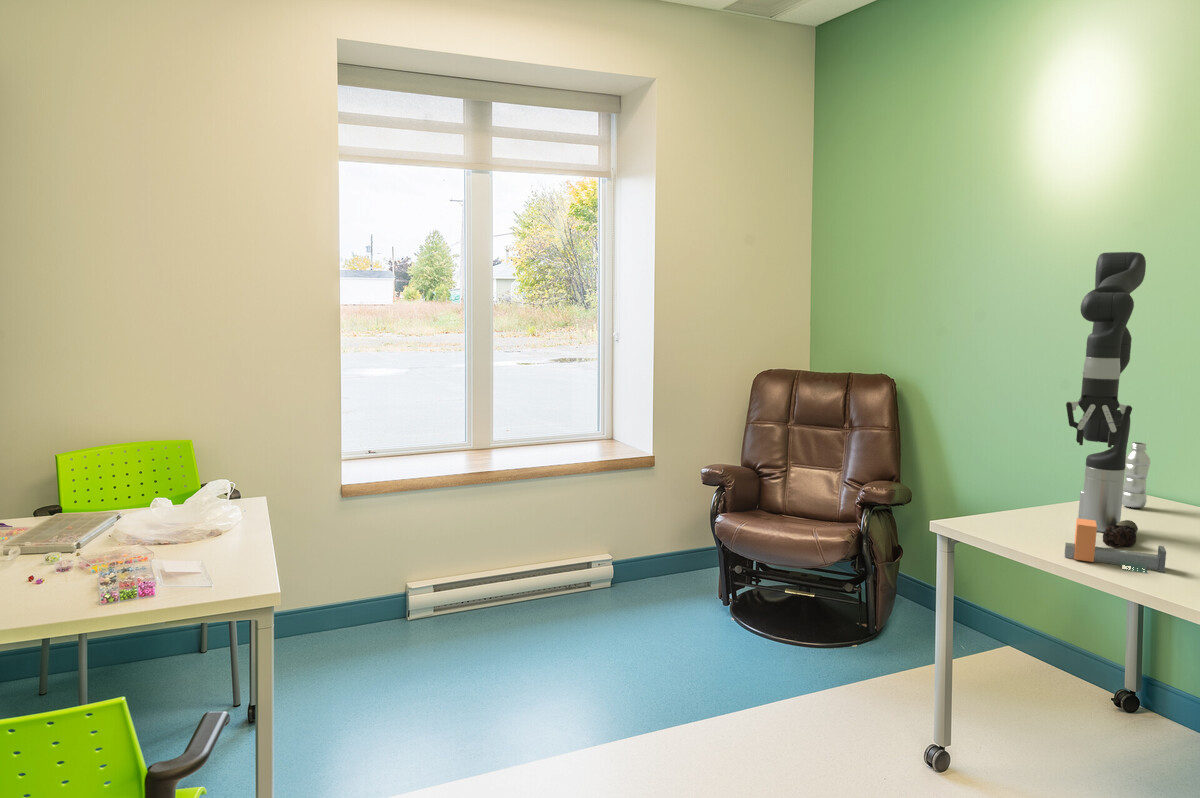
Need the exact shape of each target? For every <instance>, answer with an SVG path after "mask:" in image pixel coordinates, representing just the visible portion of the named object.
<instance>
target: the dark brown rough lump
mask: <svg viewBox="0 0 1200 798" xmlns="http://www.w3.org/2000/svg"><path fill="white" fill-rule="evenodd" d="M1138 529H1139V528H1138V525H1137V523H1135V522H1134V521H1133V520H1130V519H1125V520H1120V522H1119V523H1118V524H1116V525H1113V526H1111V527H1107V528H1106V531H1104V532H1103V533H1102V534H1103V535H1102V542H1103V543H1104V544H1106V546H1111V547H1127V548H1131V547H1133V546H1135V545H1136V542H1137V532H1138Z"/></svg>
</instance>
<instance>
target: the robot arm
mask: <svg viewBox="0 0 1200 798" xmlns="http://www.w3.org/2000/svg"><path fill="white" fill-rule="evenodd" d="M1146 267H1147V262H1146V257H1145V255H1144V254H1142V253H1141V252H1135V251H1117V252H1115V251H1114V252H1110V251H1109V252H1102V253H1100V254H1099V255H1098V257H1097V260H1096V264H1095V273H1094V275H1095V279H1094V281H1095V282H1094V289H1092V290H1091V291H1089V292H1087V294H1086V295H1085V296H1084V297H1083V299H1082V300H1081V304H1080V314H1081V316H1082V317H1083V318H1084V320H1086V321H1088V322H1091V323H1092V325H1093V326H1092V331H1091V333H1089V335H1087V339H1086V348H1085V359H1084V362H1083V363H1084V364H1083V369H1082V383H1081V392H1080V394H1081V395H1080V398H1079V400H1078V401H1066V404H1065V407H1066V413H1067V420H1068V425H1069V427H1071V428H1075V429H1076V438H1075V440H1076V442H1077V444H1079V446H1083V445H1084V440H1085V441H1087V442H1094V443H1095V442H1096V443H1104V444H1105V443H1107V448H1108V449H1107V450H1104V451H1100V452H1096V453H1091V454H1088V455H1087V456H1086V458H1085V467H1084V468H1085V469H1084V481H1083V490H1081V491H1080V492H1079V493H1080V494H1079V506H1078V517H1077V518H1078V519H1087V520H1095V521H1096V525H1097V532H1099V533H1101V532H1102V533H1104V531H1106V528H1107V527H1111V526H1113V525H1116V524H1118V523H1119V522H1121V517H1122V508H1123V505H1122V498H1123V488H1124V483H1125V463H1126V456H1127V448H1128V443H1129V435H1130V430H1131V429H1130V428H1131V414H1132V412H1133V411H1132V410H1133V407H1132V406H1131V405H1130V404H1127V405H1126V404H1122V403H1120V402H1119V399H1118V397H1119V386H1120V377H1121V374H1122V373H1123V371H1124V370H1125V369H1126V368H1127V366H1128V365H1129V363H1130V360H1131V349H1132V348H1131V347H1132V339H1133V338H1132V336H1131V335H1132V334H1131V332H1130V330H1129V328H1128V327H1127V324H1128V322H1129V320H1130V319H1131V316H1132V314H1133V311H1134V307H1135V301H1134V299H1133V296H1131V293H1132V292H1134V291H1135V290H1136V289H1138V288H1139V287H1140V286H1141V285H1142V283H1143V282H1144V280H1145V275H1146ZM1078 406H1079V407H1080V409H1081V410H1082V412H1083V415H1082V416H1081V418H1080V419H1079V422H1077V421H1075V417H1074V411H1076V410H1077V407H1078Z"/></svg>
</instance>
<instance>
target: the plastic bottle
mask: <svg viewBox="0 0 1200 798" xmlns="http://www.w3.org/2000/svg"><path fill="white" fill-rule="evenodd" d="M1130 449H1131V450H1130V451H1129V452H1128V453H1127V454H1126V463H1125V475H1124V487H1123V498H1122V506H1124V507H1127V508H1130V507H1131V509H1142V508H1144V507H1145V506H1146V504H1147V501H1148V500H1147V494H1146V493H1147V492H1146V491H1147V489H1146V488H1147V479H1148V472H1149V469H1150V465H1151V458H1150V457H1149V455H1148V454H1147V452H1146V450H1147V443H1145V442H1139V441H1132V442H1131V446H1130Z"/></svg>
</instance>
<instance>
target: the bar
mask: <svg viewBox="0 0 1200 798" xmlns="http://www.w3.org/2000/svg"><path fill="white" fill-rule="evenodd" d="M1157 546H1158V548H1157V549H1158V550H1157V554H1155V553H1146V552H1138V551H1132V550H1124V549H1117V548H1109V547H1103V546H1102V547H1101V546H1096V545H1095V554H1094V562H1093V563H1100V562H1102V563H1101V564H1107V563H1110V564H1109V565H1114V564H1117V566H1120V565H1125V566H1131V569H1130V570H1131V572H1135V571H1137V570H1138V572H1137V573H1142V572H1143V571H1145V573H1144V574H1148V571H1147V570H1150V569H1152V571H1157V570H1159V571H1158V572H1159V573H1163V572H1164V573H1165V568H1166V559H1167V557H1166V556H1167V550H1166V548H1165V545H1157ZM1074 555H1075V544H1074V543H1073V542H1065V546H1064V558H1067V559H1071V560H1072V559H1074ZM1074 560H1075V559H1074ZM1133 567H1134V568H1133ZM1127 568H1128V567H1127ZM1132 568H1133V569H1134V570H1133V569H1132ZM1137 568H1138V569H1137ZM1142 568H1143V569H1145V570H1143V569H1142ZM1128 569H1129V568H1128ZM1128 569H1127V570H1126V571H1128ZM1132 570H1133V571H1132ZM1140 571H1141V572H1140Z"/></svg>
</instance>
